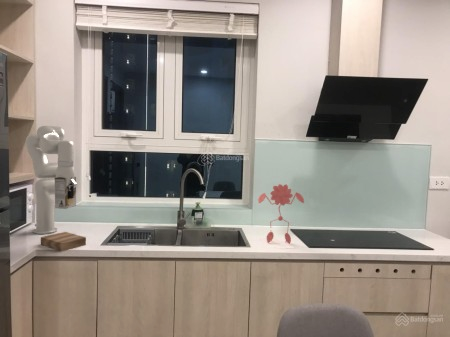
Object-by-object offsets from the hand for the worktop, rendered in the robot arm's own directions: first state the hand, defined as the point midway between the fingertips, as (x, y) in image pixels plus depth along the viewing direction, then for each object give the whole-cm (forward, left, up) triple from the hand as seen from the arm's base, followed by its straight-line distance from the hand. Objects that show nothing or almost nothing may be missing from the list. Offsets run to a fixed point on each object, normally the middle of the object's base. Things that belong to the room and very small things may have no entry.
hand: (65, 197), depth 181 cm
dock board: (0, -1, -25) cm, 25 cm away
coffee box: (0, 0, -5) cm, 5 cm away
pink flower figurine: (+92, +72, -25) cm, 120 cm away
